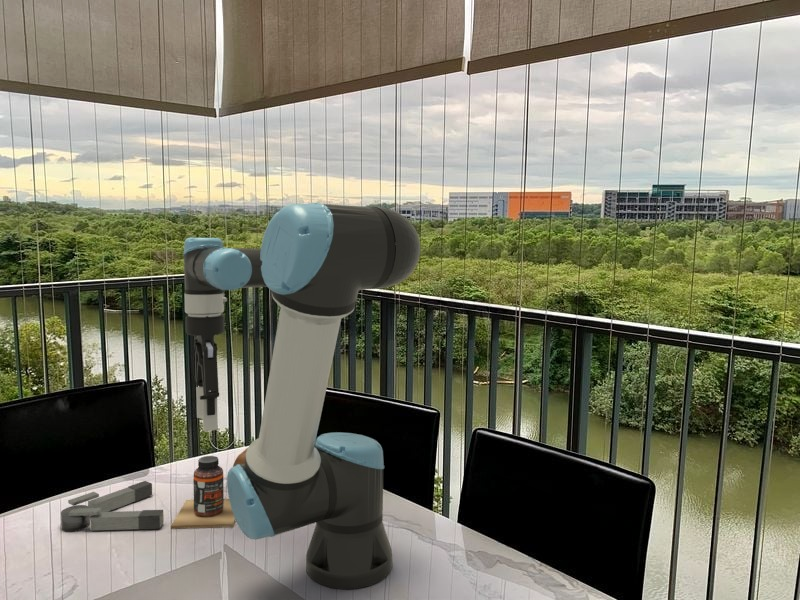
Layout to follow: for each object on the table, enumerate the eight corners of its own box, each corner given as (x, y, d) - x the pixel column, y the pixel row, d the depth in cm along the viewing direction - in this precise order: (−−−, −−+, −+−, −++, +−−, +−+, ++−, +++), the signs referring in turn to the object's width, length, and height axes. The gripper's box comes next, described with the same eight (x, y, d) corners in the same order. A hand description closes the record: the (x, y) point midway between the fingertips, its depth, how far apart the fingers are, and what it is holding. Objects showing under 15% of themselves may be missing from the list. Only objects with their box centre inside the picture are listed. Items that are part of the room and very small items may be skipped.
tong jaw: (74, 524, 120) (74, 503, 120) (68, 520, 122) (67, 499, 121) (152, 495, 134) (151, 476, 134) (145, 492, 136) (144, 473, 135)
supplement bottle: (205, 520, 122) (203, 466, 120) (188, 512, 125) (186, 459, 124) (229, 510, 126) (229, 458, 125) (212, 502, 130) (211, 451, 129)
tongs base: (159, 530, 119) (159, 511, 118) (55, 533, 117) (54, 514, 116) (167, 517, 124) (167, 499, 124) (68, 520, 122) (67, 501, 122)
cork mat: (232, 526, 120) (232, 524, 120) (170, 528, 119) (170, 525, 119) (242, 501, 132) (242, 498, 132) (186, 502, 131) (186, 500, 131)
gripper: (233, 320, 114) (235, 436, 116) (215, 308, 133) (217, 407, 135) (191, 322, 110) (194, 441, 113) (179, 309, 130) (182, 411, 132)
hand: (206, 423), depth 124 cm, fingers open, 9 cm apart
